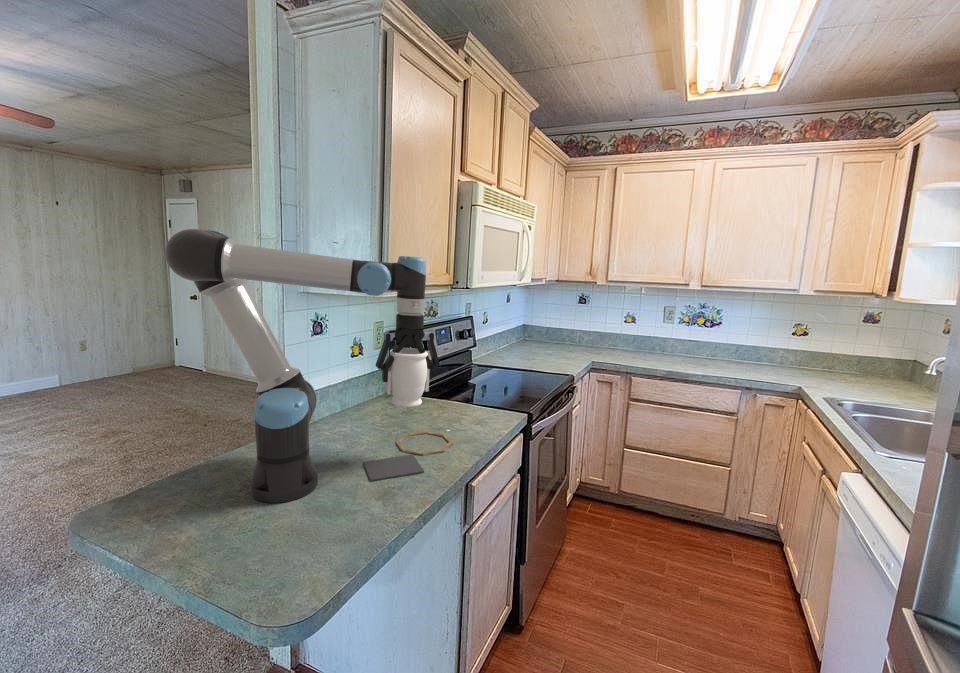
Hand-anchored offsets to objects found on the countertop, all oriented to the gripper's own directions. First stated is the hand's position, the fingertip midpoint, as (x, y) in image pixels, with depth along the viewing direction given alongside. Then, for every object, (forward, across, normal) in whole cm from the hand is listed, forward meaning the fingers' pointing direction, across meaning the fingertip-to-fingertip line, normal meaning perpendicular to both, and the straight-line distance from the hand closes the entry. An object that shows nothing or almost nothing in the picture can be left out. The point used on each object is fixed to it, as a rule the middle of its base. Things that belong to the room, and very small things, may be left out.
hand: (407, 391), depth 128 cm
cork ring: (+19, +8, +6) cm, 22 cm away
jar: (+4, 0, 0) cm, 4 cm away
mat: (+19, -5, -6) cm, 21 cm away
